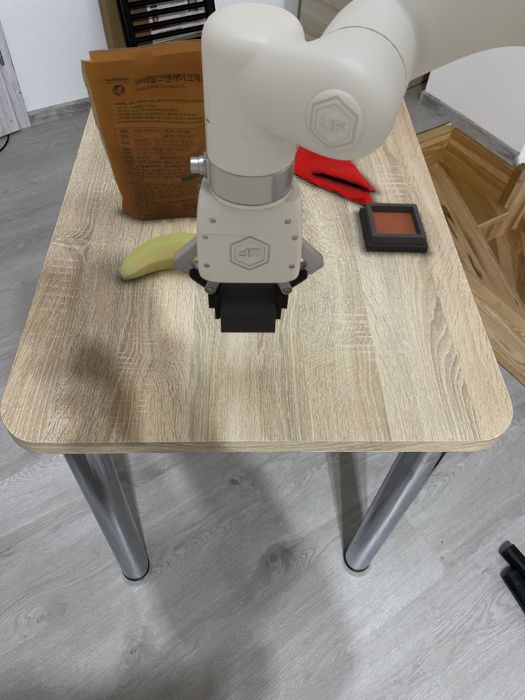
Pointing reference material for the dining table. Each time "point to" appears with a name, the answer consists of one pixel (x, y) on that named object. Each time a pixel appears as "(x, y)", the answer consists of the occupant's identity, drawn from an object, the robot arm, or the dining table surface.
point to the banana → (154, 255)
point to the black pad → (247, 308)
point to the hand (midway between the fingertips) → (247, 309)
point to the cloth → (332, 175)
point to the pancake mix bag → (151, 124)
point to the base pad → (393, 228)
